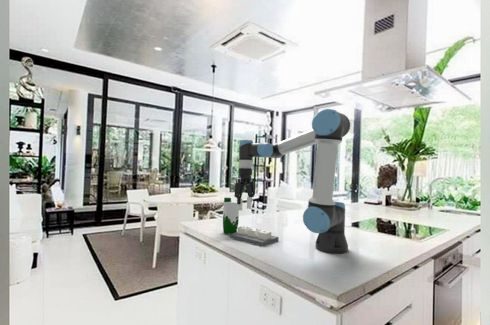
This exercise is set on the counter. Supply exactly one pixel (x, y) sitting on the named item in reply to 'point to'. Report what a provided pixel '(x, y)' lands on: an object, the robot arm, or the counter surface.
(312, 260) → the counter surface
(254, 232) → the key two
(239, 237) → the keypad board
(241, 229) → the key three
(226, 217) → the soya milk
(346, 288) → the counter surface
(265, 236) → the key one
